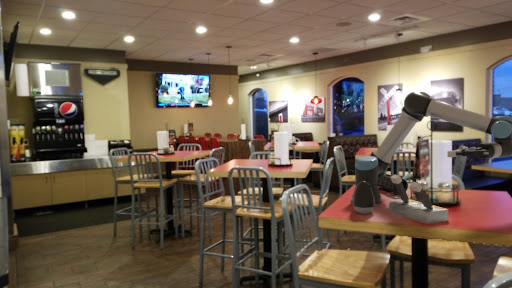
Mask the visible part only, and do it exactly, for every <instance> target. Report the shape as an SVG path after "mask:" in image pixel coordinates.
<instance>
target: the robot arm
mask: <svg viewBox="0 0 512 288" xmlns="http://www.w3.org/2000/svg"><path fill="white" fill-rule="evenodd" d="M400 111H401V115H400V117H399V118H398V119H397V121H395V123H394V125H393V126H392V128H391V129H390V131H389V132H388V134H387V135H386V136H385V138H384V139H383V141H382V142H381V143H380V145H379V146H378V148H377V149H374V150H372V152H371V153H370V154H369V155H367V156H365V155H363V156H360V157H357V158H356V159H355V162H354V173H355V174H354V177H355V178H354V180H355V182H354V183H355V185H354V189H353V192H352V196H351V201H352V202H353V196H354V192H355V189H356V187H357V185H358V183H359V182H361V181H366V182H368V183H369V184H373V183H375V186H372V187H371V189H372V191H373V195H374V200H375V204H378V203H382V195H381V192H380V190H379V187H378V177H380V176H382V175H384V174H385V173H386V174H387V170H388V167H390V165H391V164H392V160H391V159H392V157H393V156H394V154H395V153H396V152H397V150H398V148H400V146H401V144H402V143H403V142H404V141H405V140H406V138H407V136H408V135H409V134H410V132H411V131H412V129H413V128H414V127H415V125H416V124H417V123H420V122H422V121H423V119H424V118H425V117H426V118H428V117H432V118H436V119H439V120H441V121H446V122H448V123H452V124H455V125H458V126H461V127H464V128H467V129H471V130H474V131H477V132H481V133H484V134H487V135H490V136H493V141H489V142H480V143H479V144H477V145H476V146H472V147H463V148H458V149H457V148H456V149H454V150H448V151H447V156H446V157H447V158H461V157H468V158H469V157H470V158H471V157H477V158H478V159H480V160H489V159H490V160H494V159H498V158H500V159H501V158H509V157H512V116H510V115H500V116H494V117H492V116H488V115H484V114H482V113H478V112H474V111H472V110H467V109H465V108H461V107H458V106H454V105H451V104H448V103H443V102H441V101H437V100H436V99H435V98H434V97H432V96H431V95H430V94H428V93H427V92H424V91H412V92H410V93H408V94H407V95H405V98H404V101H403V106H402V108H401V110H400Z"/></svg>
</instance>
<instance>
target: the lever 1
mask: <svg viewBox="0 0 512 288" xmlns="http://www.w3.org/2000/svg"><path fill="white" fill-rule="evenodd" d="M390 178H391V180H392V182H393V183H394V184H395V187H396V189H397V191H398V193H399V195H398V196H399V198H400V200H402V201H403V202H407V203H409V201H408V200H409V199H410V198H409V196H408V194H407V191H405V188H404V186H403V184H402V179H403V178H402V177H401V175H398V174H393V175H392V177H390ZM401 178H402V179H401Z"/></svg>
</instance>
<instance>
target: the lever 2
mask: <svg viewBox="0 0 512 288" xmlns="http://www.w3.org/2000/svg"><path fill="white" fill-rule="evenodd" d="M409 187H410V189H411V190H412V192H414V193H415V195H416V196H417V198H418V199H419V202H422V204H423V205H424V207H426V208H429V209H433V207H432V206H433V205H434V204H432V202H431V200H430V198H429V197H428V196H427V194H426V191H423V187H422V186H421V184H420V183H418V182H413V181H412V183H410V185H409Z"/></svg>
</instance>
